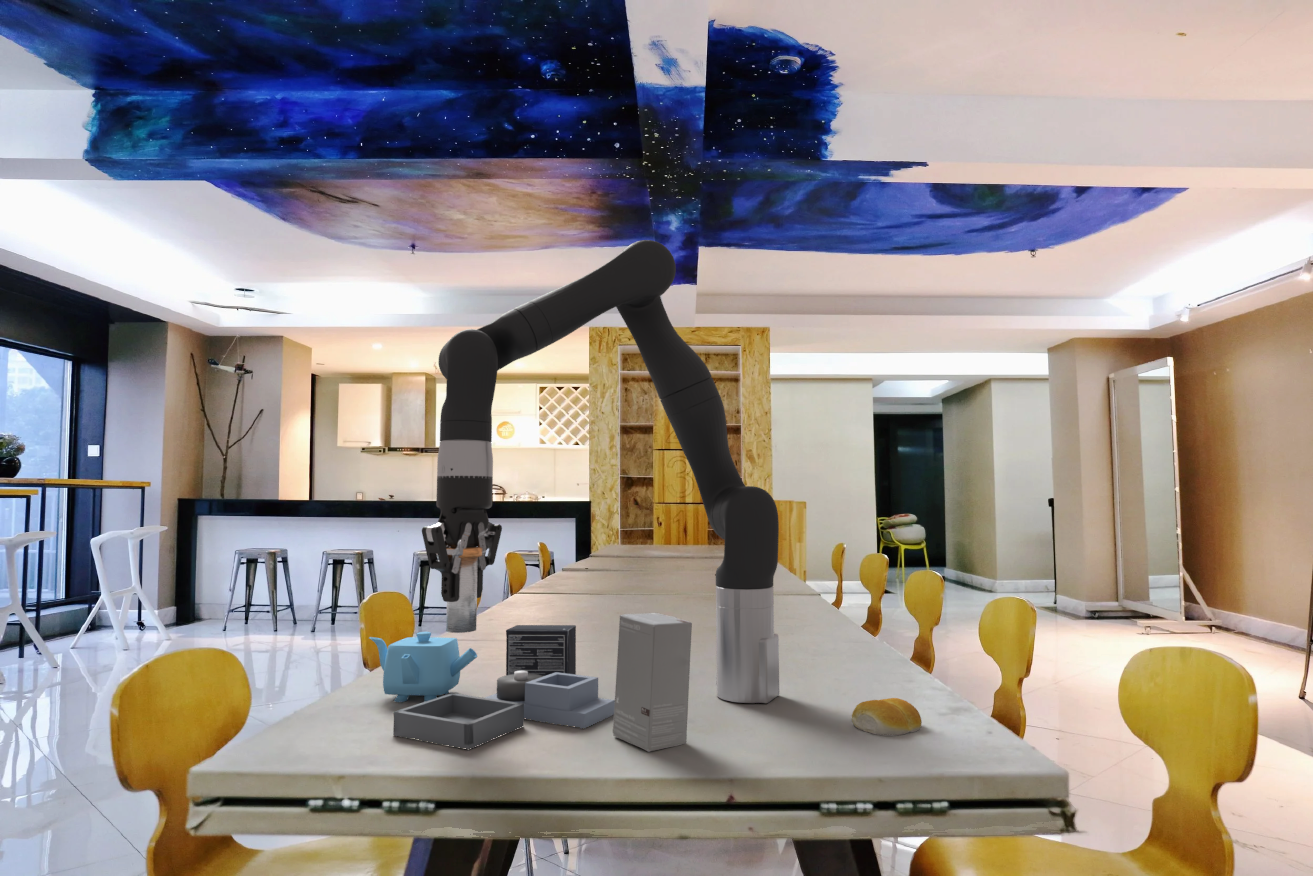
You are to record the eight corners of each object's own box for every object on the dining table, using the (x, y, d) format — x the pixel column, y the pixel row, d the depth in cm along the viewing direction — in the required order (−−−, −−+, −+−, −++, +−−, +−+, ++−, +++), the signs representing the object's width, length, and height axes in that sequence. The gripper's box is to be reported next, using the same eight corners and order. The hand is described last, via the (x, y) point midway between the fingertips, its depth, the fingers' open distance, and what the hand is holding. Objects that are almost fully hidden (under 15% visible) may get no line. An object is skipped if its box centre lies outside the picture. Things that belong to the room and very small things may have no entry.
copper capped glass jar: (488, 629, 102) (490, 547, 103) (462, 634, 98) (464, 549, 99) (460, 626, 105) (461, 546, 106) (433, 631, 100) (435, 548, 101)
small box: (577, 687, 124) (577, 623, 125) (569, 697, 118) (569, 630, 119) (515, 686, 125) (516, 623, 126) (504, 696, 119) (504, 629, 120)
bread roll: (932, 729, 101) (931, 699, 101) (889, 741, 96) (888, 709, 96) (884, 715, 108) (883, 687, 108) (840, 725, 103) (840, 696, 103)
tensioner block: (614, 714, 108) (614, 676, 108) (584, 729, 101) (584, 688, 101) (516, 699, 116) (516, 664, 117) (481, 712, 109) (482, 674, 110)
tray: (523, 727, 102) (523, 703, 102) (468, 750, 92) (469, 724, 93) (451, 714, 108) (452, 693, 108) (393, 735, 98) (393, 711, 99)
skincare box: (611, 737, 97) (611, 614, 99) (655, 727, 102) (655, 610, 103) (649, 754, 91) (648, 622, 92) (694, 743, 95) (693, 617, 96)
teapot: (488, 688, 124) (489, 626, 125) (458, 711, 110) (460, 642, 111) (384, 686, 125) (386, 625, 126) (342, 708, 112) (344, 640, 112)
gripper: (449, 472, 95) (446, 607, 94) (518, 475, 108) (516, 595, 106) (406, 473, 99) (402, 604, 97) (478, 476, 111) (476, 592, 110)
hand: (462, 599), depth 102 cm, fingers closed on copper capped glass jar, 4 cm apart
